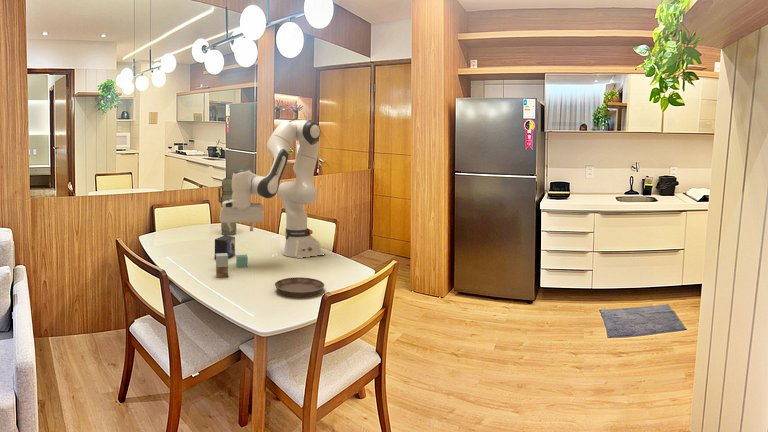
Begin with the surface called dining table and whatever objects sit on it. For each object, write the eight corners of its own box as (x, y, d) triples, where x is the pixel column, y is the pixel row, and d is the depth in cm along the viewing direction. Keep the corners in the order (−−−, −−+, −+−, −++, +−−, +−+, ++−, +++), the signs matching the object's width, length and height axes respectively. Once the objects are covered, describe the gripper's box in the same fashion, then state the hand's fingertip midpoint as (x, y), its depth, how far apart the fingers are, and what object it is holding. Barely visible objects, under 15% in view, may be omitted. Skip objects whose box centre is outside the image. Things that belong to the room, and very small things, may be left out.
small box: (225, 260, 261) (225, 240, 260) (214, 259, 263) (213, 239, 261) (235, 255, 271) (235, 236, 270) (224, 254, 273) (224, 235, 271)
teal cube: (246, 264, 256) (246, 254, 255) (247, 266, 251) (247, 256, 250) (236, 264, 254) (236, 254, 253) (237, 267, 250) (236, 257, 249)
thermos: (216, 233, 322) (215, 177, 316) (234, 232, 329) (234, 177, 324) (222, 236, 315) (221, 179, 309) (240, 234, 323) (240, 178, 317)
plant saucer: (326, 284, 228) (326, 277, 228) (321, 300, 208) (322, 292, 207) (279, 283, 228) (279, 276, 227) (270, 298, 207) (270, 290, 207)
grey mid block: (227, 263, 237) (227, 253, 236) (228, 266, 232) (227, 255, 231) (216, 264, 235) (215, 253, 234) (216, 267, 231) (216, 256, 230)
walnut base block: (227, 274, 238) (227, 263, 237) (228, 277, 233) (228, 266, 232) (216, 274, 236) (216, 264, 235) (216, 277, 231) (216, 267, 231)
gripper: (262, 201, 254) (262, 229, 256) (219, 202, 247) (219, 230, 249) (264, 203, 248) (264, 232, 250) (219, 204, 241) (219, 233, 244)
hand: (241, 231), depth 250 cm, fingers open, 8 cm apart
